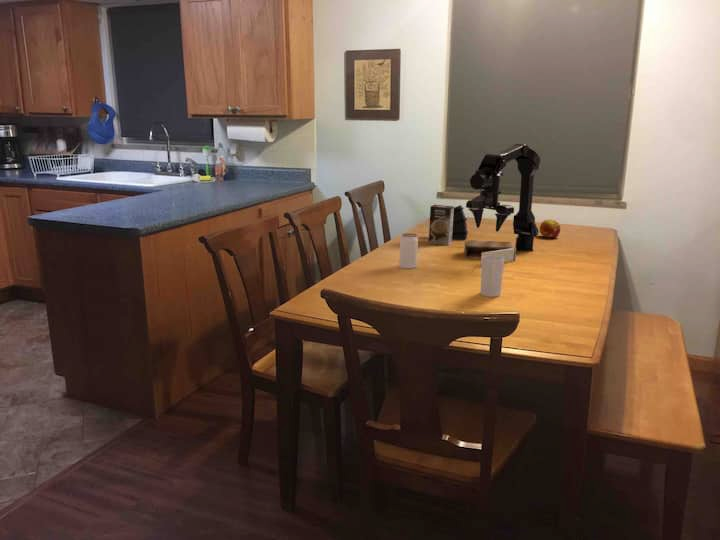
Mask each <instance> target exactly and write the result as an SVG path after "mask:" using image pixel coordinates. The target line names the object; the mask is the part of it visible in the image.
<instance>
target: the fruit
mask: <svg viewBox="0 0 720 540" xmlns="http://www.w3.org/2000/svg"><path fill="white" fill-rule="evenodd" d="M539 233H540V235H542V236H543V237H545V238H549V239H555V238H557V237H558V236H560V233H561V225H560V223H559V222H557V221H556V220H553V219H545V220H543V221H542V222H541V223H540V225H539Z"/></svg>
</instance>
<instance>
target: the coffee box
mask: <svg viewBox="0 0 720 540" xmlns="http://www.w3.org/2000/svg"><path fill="white" fill-rule="evenodd" d="M454 208H455V206H453V205H441V204H433V205H430V211H429V213H430V214H429V227H428V228H429V229H428V231H429V232H428V244H432V243H433V244H434V245H443V246H450V244H452V243H453V240H452V229H453V215H454Z"/></svg>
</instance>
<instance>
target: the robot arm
mask: <svg viewBox="0 0 720 540" xmlns="http://www.w3.org/2000/svg"><path fill="white" fill-rule="evenodd" d="M513 160H515V162H516V163H517V170H518V172H519V174H520V188H519V193H520V194H519V203H518V211H517V213H516V214H514V212H515V208H514V205H510V204H501V202H499V195H501V194H502V191H500V183H501V177H503V176H504V173H503V172H502V170H503V169H505V167H507V164H508V163H509V162H511V161H513ZM540 163H541V157H540V156H539V154H538V153H537V152H536V151H534V150H533V149H532V148H530V147H529V146H528V145H527V144H526V143H525V144H524V143H515V144H513V145H512V146H510V147H507V148H506V149H503V150H501V151H499V152H490V153H485V155H484V157H483V158H482V160H481V162H480V164H479V166H478V168H477V170H475V173H474V174H473V175H472V176H471V177H470V179H469V183H470V187H471V188H472V189H474V190H480V194H479V195H477V196H475V197H473V198H471V199H470V200H469V199H468V200H467V201H466V203H465V208H466V209H468V211H470V212H471V213H472V215H473V218H474V222H475V226H476V228H480V227H481V223H482V219H483V214H484V209H487V210H491V211H496V213H494V216H495V217H496V222H495V232H497V233H498V232H499V231H500V229H501V227H502V226H503V224H504V222H505V221H506V220H507V218H508V217H509V216H511V214H514V215H513V218H512V219H513V223H512V228H513V229H512V230H513V234H514V235H517V236H516V237H515V245H514V246H515V247H514V248H516V251H524V252H525V251H527V252H534V237H536V238H537V236H538V235H539V233H540V229H538V226H537V224H536V217H535V215H534V213H533V211H532V206H533V193H534V180H535V179H534V177H535V174H536V173H537V172H538V170H539V169H540Z"/></svg>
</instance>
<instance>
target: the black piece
mask: <svg viewBox="0 0 720 540" xmlns="http://www.w3.org/2000/svg"><path fill="white" fill-rule="evenodd" d="M467 220H468V218H467V217H466V215H465V212H464V207H463V206H462V204H460V205H457V206H454V215H453V229H452V239H453V240H459V239H461V240H463V241H465V240H468V234H469V231H468V225H467Z"/></svg>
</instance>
